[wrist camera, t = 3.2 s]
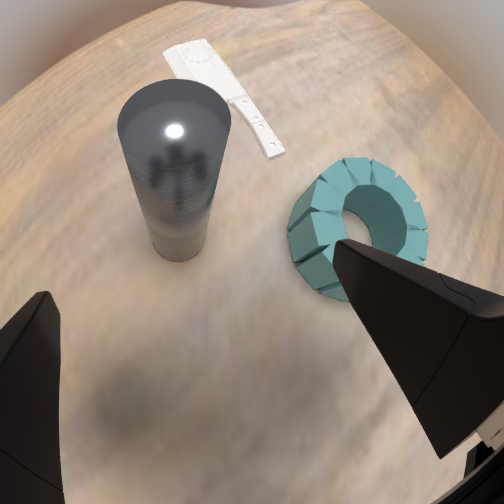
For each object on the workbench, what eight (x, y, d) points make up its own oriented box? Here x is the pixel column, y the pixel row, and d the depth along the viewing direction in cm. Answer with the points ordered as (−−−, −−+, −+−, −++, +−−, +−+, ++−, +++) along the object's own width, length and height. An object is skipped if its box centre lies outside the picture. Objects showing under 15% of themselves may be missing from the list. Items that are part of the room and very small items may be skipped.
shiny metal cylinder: (215, 239, 21) (254, 128, 9) (173, 272, 20) (158, 189, 8) (183, 201, 21) (187, 65, 9) (142, 232, 20) (98, 113, 8)
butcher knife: (226, 178, 23) (228, 171, 22) (157, 57, 25) (156, 49, 24) (284, 156, 24) (287, 149, 23) (205, 44, 26) (206, 36, 25)
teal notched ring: (408, 249, 24) (444, 234, 20) (344, 325, 21) (379, 323, 17) (340, 166, 25) (367, 138, 20) (262, 229, 22) (281, 204, 18)
